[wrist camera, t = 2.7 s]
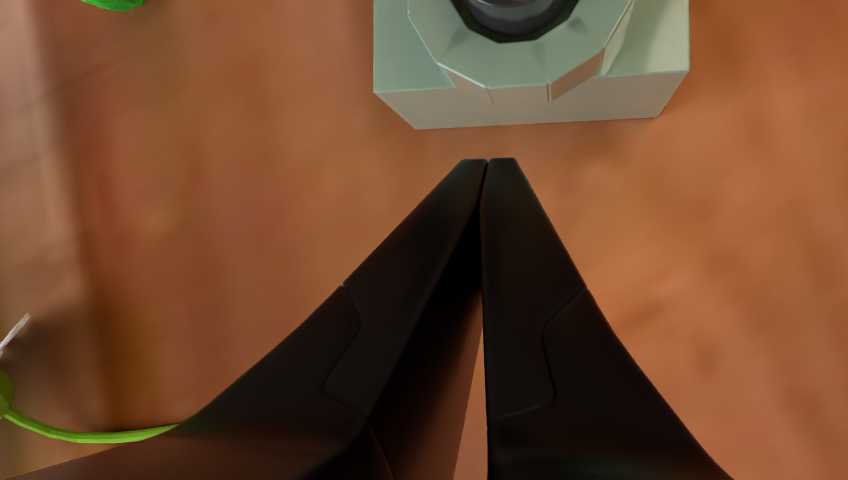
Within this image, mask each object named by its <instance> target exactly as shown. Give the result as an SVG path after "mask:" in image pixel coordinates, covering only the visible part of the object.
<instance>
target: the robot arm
mask: <svg viewBox="0 0 848 480" xmlns="http://www.w3.org/2000/svg"><path fill="white" fill-rule="evenodd" d="M482 326H483V343H484V368H485V393H486V418H487V428H488V429H487V445H488V474H487V480H734V479H733V478H732V477H730V476H729V475H728V474H727V473H726V472H725V471H724V470H723V469H722V468H721V467H720V466H719V465H718V464H717V463H716V462H715V461H714V460H713V459H712V458H711V457H710V456H709V455H708V454H707V452H706V451H705V450H704V449H703V448H702V446H701V445H700V444H699V443H698V441H697V440H696V439H695V438H694V436H693V435H692V434H691V433H690V431H689V430H688V429H687V427H686V426H685V425H684V424H683V422H682V421H681V420H680V418H679V417H678V416H677V415H676V413H675V412H674V411H673V409H672V408H671V407H670V406H669V404H668V403H667V402H666V400H665V399H664V398H663V397H662V395H661V394H660V393H659V392H658V390H657V389H656V388H655V386H654V385H653V384H652V383H651V381H650V380H649V379H648V377H647V376H646V375H645V374H644V372H643V371H642V370H641V368H640V367H639V366H638V365H637V363H636V362H635V360H634V359H633V358H632V356H631V355H630V354H629V352H628V351H627V349H626V348H625V347H624V345H623V344H622V343H621V341H620V340H619V338H618V337H617V336H616V334H615V333H614V331H613V329H612V328H611V326H610V324H609V323H608V321H607V320H606V318H605V316H604V315H603V313H602V311H601V310H600V308H599V306H598V305H597V303H596V301H595V299H594V298H593V296H592V294H591V292H590V291H589V290H588V289H587V286H586V284H585V282H584V280H583V278H582V277H581V275H580V273H579V271H578V270H577V268H576V266H575V264H574V262H573V261H572V259H571V257H570V255H569V253H568V252H567V250H566V248H565V246H564V245H563V243H562V241H561V239H560V237H559V236H558V234H557V232H556V230H555V228H554V227H553V225H552V223H551V221H550V219H549V218H548V216H547V214H546V212H545V211H544V209H543V207H542V205H541V203H540V202H539V200H538V198H537V196H536V194H535V193H534V191H533V189H532V187H531V186H530V184H529V182H528V180H527V178H526V177H525V175H524V173H523V171H522V169H521V168H520V166H519V164H518V162H517V161H516V159H514V158H492V159H490V160H489V161H487V160H486V159H464V160H462V161H460V162H459V163H458V164H457V165H456V166H455V167H454V168H453V169H452V170H451V171H450V172H449V173H448V174H447V175H446V177H445V178H444V179H443V180H442V181H441V182H440V183H439V184H438V185H437V186H436V187H435V188H434V189H433V190H432V191H431V192H430V193H429V194H428V195H427V196H426V197H425V198H424V199H423V200H422V201H421V202H420V203H419V204H418V206H417V207H416V208H415V209H414V210H413V211H412V212H411V213H410V214H409V215H408V216H407V217H406V218H405V219H404V220H403V221H402V222H401V223H400V224H399V225H398V226H397V227H396V228H395V229H394V230H393V231H392V232H391V233H390V234H389V236H388V237H387V238H386V239H385V240H384V241H383V242H382V243H381V244H380V245H379V246H378V247H377V248H376V249H375V250H374V251H373V252H372V253H371V254H370V255H369V256H368V257H367V258H366V259H365V260H364V261H363V262H362V263H361V264H360V266H359V267H358V268H357V269H356V270H355V271H354V272H353V273H352V274H351V275H350V276H349V277H348V278H347V279H346V280H345V281H344V282H343V286H342V285H341V286H339V287H338V288H337V289H336V290H335V291H334V292H333V293H332V294H331V295H330V296H329V297H328V298H327V299H326V300H325V301H324V302H323V303H322V304H321V305H320V306H319V307H318V308H317V309H316V310H315V311H314V312H313V313H312V314H311V315H310V316H309V317H308V318H307V319H306V320H305V321H304V322H303V323H302V324H301V325H300V326H299V327H297V328H296V329H295V330H294V331H293V332H292V333H291V334H290V335H288V336H287V337H286V338H285V339H284V340H283V341H282V342H281V343H279V344H278V345H277V346H276V347H275V348H274V349H273V350H271V351H270V352H269V353H268V354H267V355H265V356H264V357H263V358H262V359H261V360H260V361H258V362H257V363H256V364H255V365H254V366H252V367H251V368H250V369H249V370H248V371H247V372H245V373H244V374H243V375H242V376H241V377H239V378H238V379H237V380H236V381H235V382H234V383H232V384H231V385H230V386H229V387H228V388H226V389H225V390H224V391H223V392H222V393H221V394H219V395H218V396H217V397H216V398H215V399H213V400H212V401H211V402H210V403H209V404H208V405H206V406H205V407H204V408H202V409H201V410H200V411H199V412H197V413H196V414H195V415H193V416H192V417H190V418H189V419H187V420H186V421H184V422H183V423H181V424H179V425H177V426H175V427H173V428H172V429H170V430H167V431H165V432H163V433H160V434H158V435H155V436H153V437H150V438H147V439H143V440H140V441H136V442H133V443H130V444H126V445H123V446H119V447H116V448H112V449H109V450H106V451H102V452H99V453H95V454H92V455H89V456H85V457H82V458H78V459H75V460H71V461H68V462H65V463H61V464H58V465H54V466H51V467H48V468H44V469H41V470H37V471H34V472H30V473H27V474H24V475H20V476H17V477H13V478H10V479H7V480H453V478H454V472H455V467H456V462H457V457H458V451H459V446H460V441H461V436H462V431H463V425H464V420H465V415H466V410H467V404H468V399H469V394H470V389H471V383H472V378H473V373H474V368H475V362H476V357H477V352H478V347H479V342H480V336H481V331H482Z"/></svg>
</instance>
